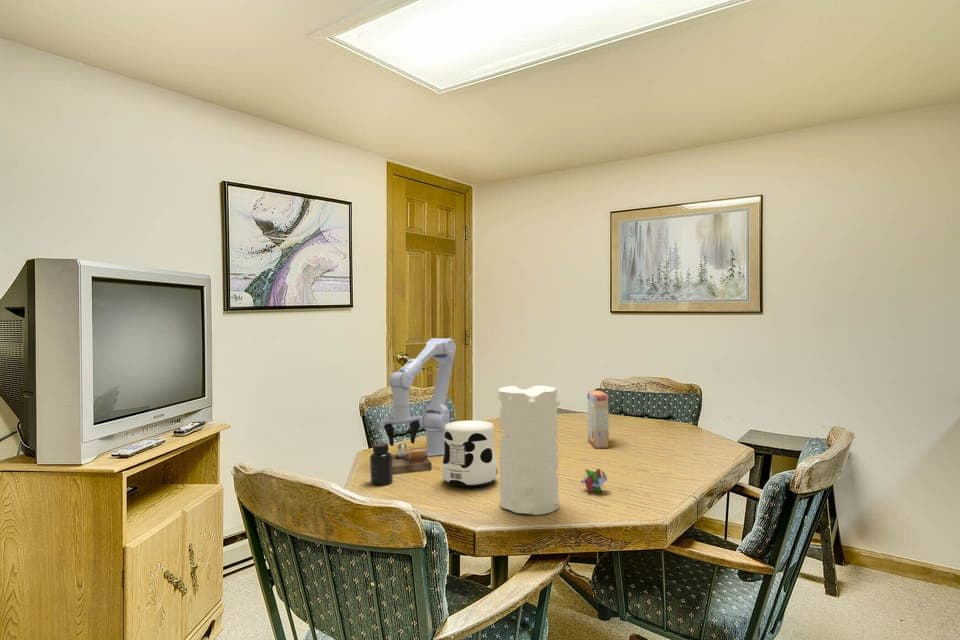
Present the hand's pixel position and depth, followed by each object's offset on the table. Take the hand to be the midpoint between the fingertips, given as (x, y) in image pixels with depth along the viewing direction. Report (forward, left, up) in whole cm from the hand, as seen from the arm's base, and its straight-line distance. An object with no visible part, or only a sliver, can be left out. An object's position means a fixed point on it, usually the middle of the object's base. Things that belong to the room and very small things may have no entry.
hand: (402, 444), depth 191 cm
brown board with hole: (-1, +3, -7) cm, 8 cm away
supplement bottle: (+10, +19, -7) cm, 23 cm away
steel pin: (0, 0, -7) cm, 7 cm away
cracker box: (-79, 0, -7) cm, 79 cm away
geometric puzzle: (-47, +51, -7) cm, 70 cm away
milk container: (-16, +29, -7) cm, 34 cm away
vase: (-25, +55, -7) cm, 61 cm away
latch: (-4, +8, -3) cm, 9 cm away
